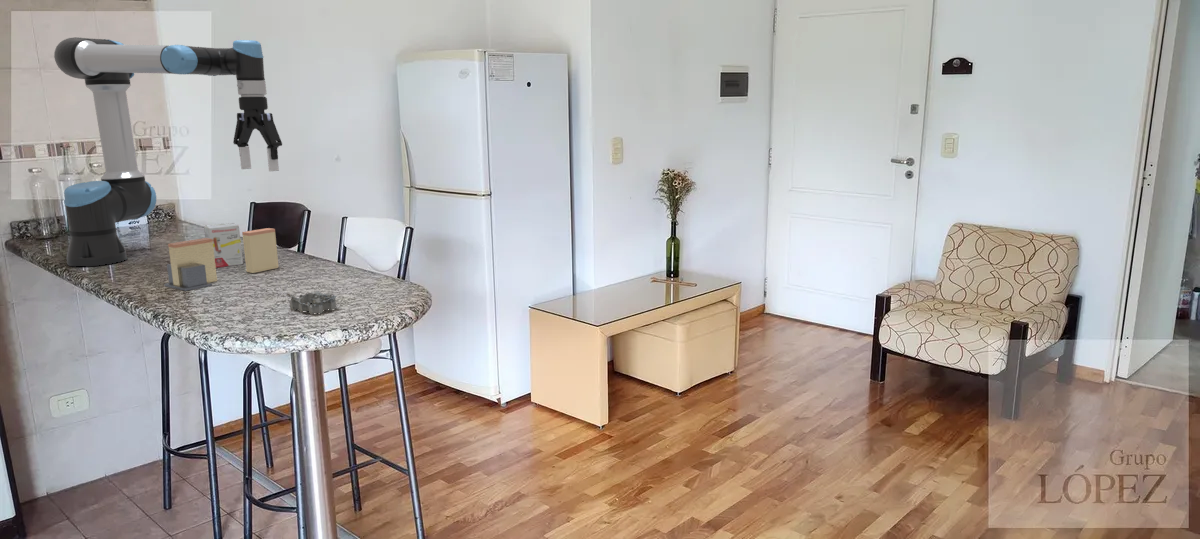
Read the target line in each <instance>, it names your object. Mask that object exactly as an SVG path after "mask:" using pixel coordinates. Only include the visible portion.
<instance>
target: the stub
mask: <svg viewBox="0 0 1200 539" xmlns="http://www.w3.org/2000/svg"><path fill="white" fill-rule="evenodd" d="M276 237H277V236H276V228H270V227H268V228H267V227H266V228H260V229H253V230H247V231H242V242H243V251H244V260H245V268H246V269H245V270H246V272H247V273H250V274H255V273H260V272H265V271H270V270H274V269H275V270H276V269H278V268H279V257H278V256H279V255H278V249H277V248H278V247H277V238H276Z"/></svg>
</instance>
